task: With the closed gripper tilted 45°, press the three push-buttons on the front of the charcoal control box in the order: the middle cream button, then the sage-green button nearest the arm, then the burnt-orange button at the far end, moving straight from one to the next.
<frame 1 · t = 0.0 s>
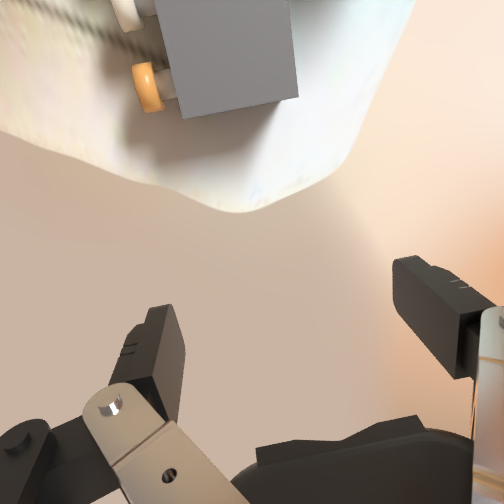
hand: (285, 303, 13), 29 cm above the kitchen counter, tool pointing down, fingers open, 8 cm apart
button orange: (167, 84, 31), point 5 cm above the kitchen counter, slide at 0.0 cm
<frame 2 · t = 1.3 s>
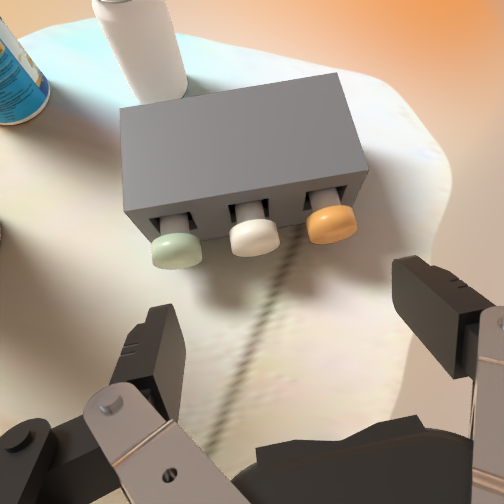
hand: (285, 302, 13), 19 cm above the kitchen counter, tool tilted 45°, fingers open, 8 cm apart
button green: (175, 234, 30), point 5 cm above the kitchen counter, slide at 0.0 cm
button cream: (251, 221, 30), point 5 cm above the kitchen counter, slide at 0.0 cm
can: (161, 90, 41), on the kitchen counter
beverage bottle: (20, 101, 42), on the kitchen counter
control box: (244, 188, 36), on the kitchen counter
button orange: (326, 208, 30), point 5 cm above the kitchen counter, slide at 0.0 cm
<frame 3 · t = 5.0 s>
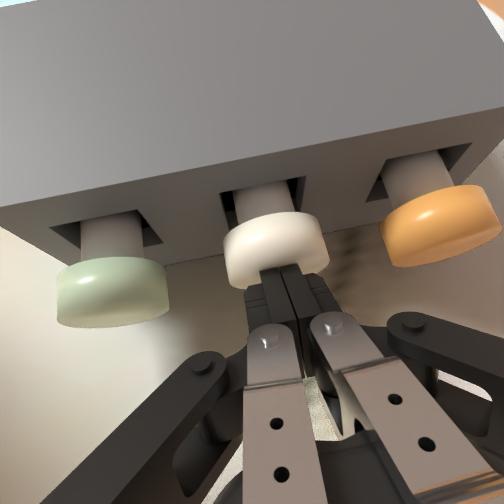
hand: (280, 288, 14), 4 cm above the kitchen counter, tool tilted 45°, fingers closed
button green: (113, 256, 14), point 4 cm above the kitchen counter, slide at 0.0 cm
button cream: (266, 218, 15), point 4 cm above the kitchen counter, slide at 0.4 cm, touching gripper
control box: (248, 168, 21), on the kitchen counter
button orange: (421, 194, 15), point 4 cm above the kitchen counter, slide at 0.0 cm
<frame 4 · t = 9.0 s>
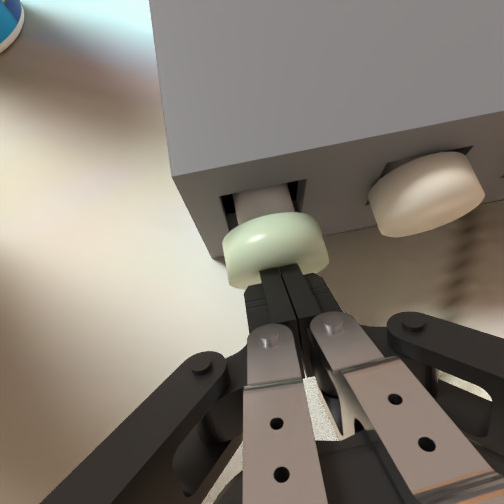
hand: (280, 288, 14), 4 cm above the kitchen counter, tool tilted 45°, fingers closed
button green: (266, 218, 15), point 5 cm above the kitchen counter, slide at 0.5 cm, touching gripper
button cream: (408, 165, 15), point 5 cm above the kitchen counter, slide at 1.6 cm
control box: (355, 149, 21), on the kitchen counter
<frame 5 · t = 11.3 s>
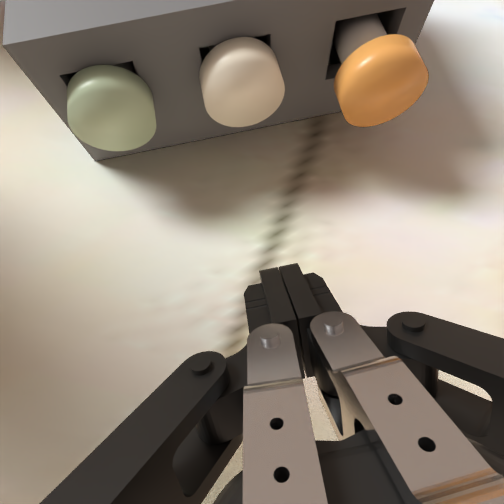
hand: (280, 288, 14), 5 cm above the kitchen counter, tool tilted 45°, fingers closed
button green: (110, 86, 18), point 4 cm above the kitchen counter, slide at 1.6 cm
button cream: (235, 62, 18), point 5 cm above the kitchen counter, slide at 1.6 cm
control box: (230, 72, 24), on the kitchen counter
button orange: (368, 60, 18), point 4 cm above the kitchen counter, slide at 0.0 cm
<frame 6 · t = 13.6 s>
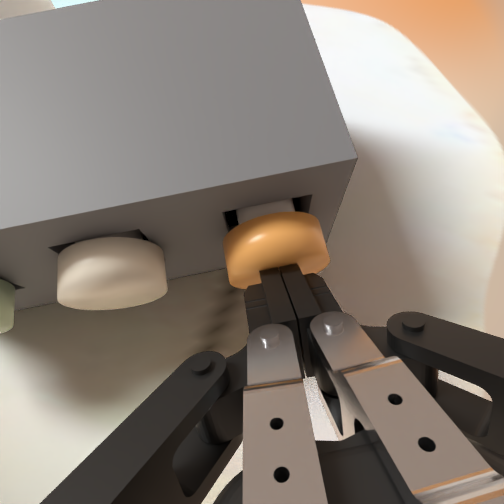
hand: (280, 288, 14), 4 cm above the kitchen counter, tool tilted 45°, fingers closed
button cream: (112, 239, 15), point 5 cm above the kitchen counter, slide at 1.6 cm
can: (27, 48, 26), on the kitchen counter
control box: (142, 202, 20), on the kitchen counter
button orange: (266, 217, 15), point 4 cm above the kitchen counter, slide at 1.2 cm, touching gripper
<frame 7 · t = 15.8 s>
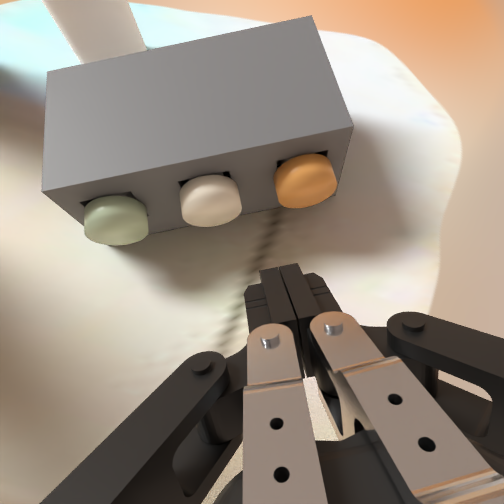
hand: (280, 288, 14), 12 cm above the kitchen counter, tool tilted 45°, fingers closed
button green: (116, 201, 24), point 5 cm above the kitchen counter, slide at 1.6 cm
button cream: (207, 182, 24), point 4 cm above the kitchen counter, slide at 1.6 cm
can: (119, 65, 36), on the kitchen counter
control box: (210, 168, 30), on the kitchen counter
button orange: (298, 162, 24), point 5 cm above the kitchen counter, slide at 1.6 cm
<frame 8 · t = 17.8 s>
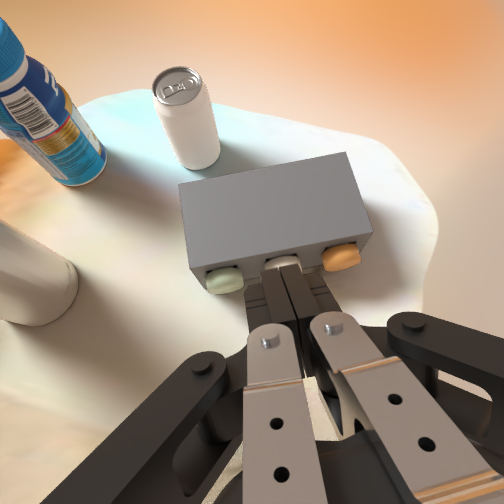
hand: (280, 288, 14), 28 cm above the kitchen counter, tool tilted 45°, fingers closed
button green: (222, 267, 39), point 5 cm above the kitchen counter, slide at 1.6 cm
button cream: (279, 255, 39), point 5 cm above the kitchen counter, slide at 1.6 cm
can: (198, 153, 50), on the kitchen counter
beverage bottle: (81, 164, 51), on the kitchen counter
control box: (271, 236, 45), on the kitchen counter
button orange: (336, 244, 39), point 5 cm above the kitchen counter, slide at 1.6 cm
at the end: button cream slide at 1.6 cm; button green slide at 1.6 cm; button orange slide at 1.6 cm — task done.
